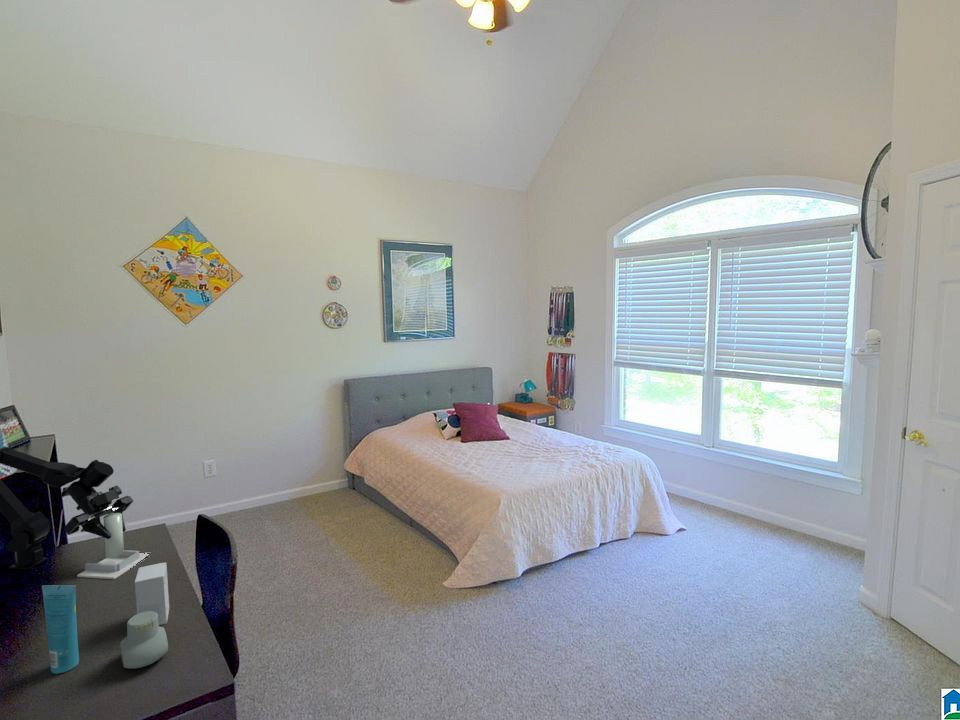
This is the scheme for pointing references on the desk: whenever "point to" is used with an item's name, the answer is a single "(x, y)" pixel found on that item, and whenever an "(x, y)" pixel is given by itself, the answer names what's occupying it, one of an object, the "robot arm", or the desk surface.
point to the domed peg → (114, 535)
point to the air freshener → (143, 641)
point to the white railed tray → (113, 565)
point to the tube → (61, 626)
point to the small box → (153, 591)
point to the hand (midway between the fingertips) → (117, 534)
